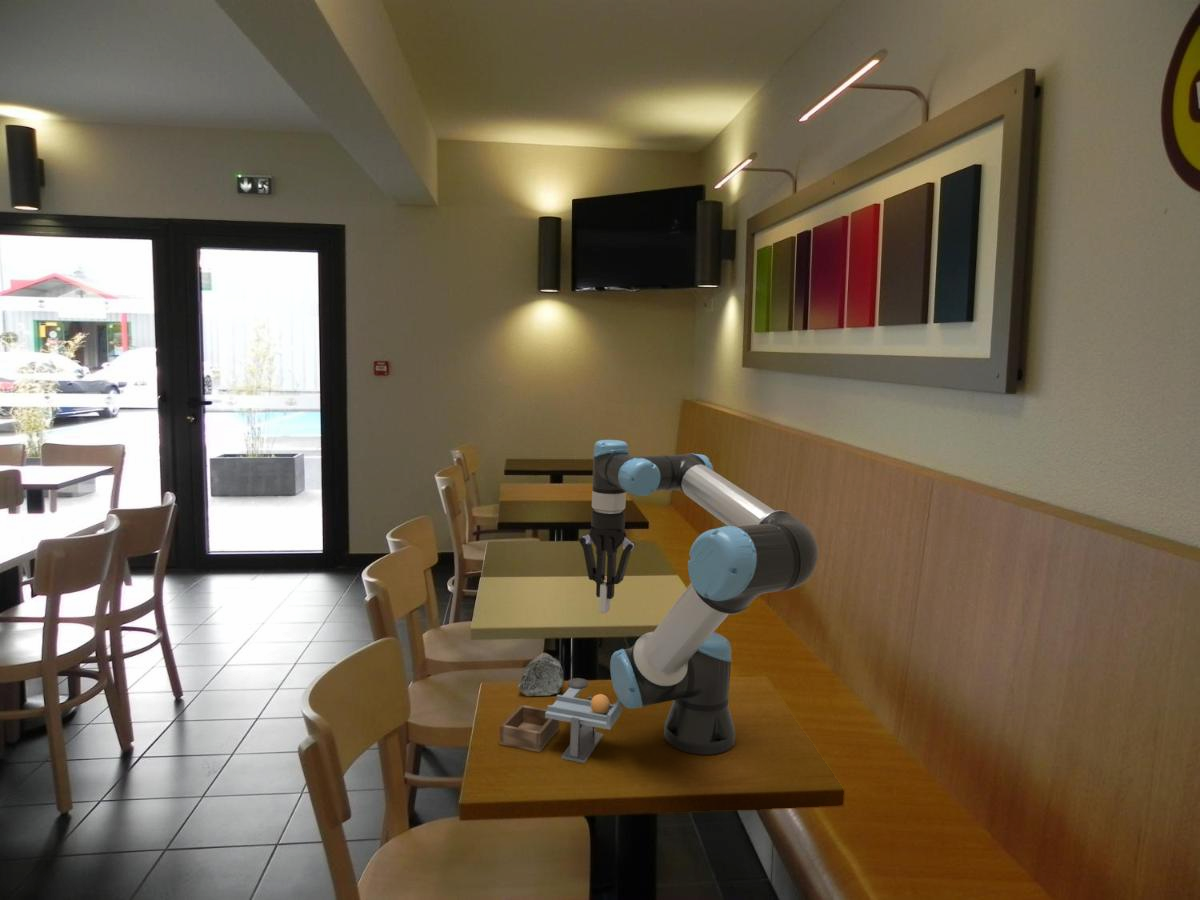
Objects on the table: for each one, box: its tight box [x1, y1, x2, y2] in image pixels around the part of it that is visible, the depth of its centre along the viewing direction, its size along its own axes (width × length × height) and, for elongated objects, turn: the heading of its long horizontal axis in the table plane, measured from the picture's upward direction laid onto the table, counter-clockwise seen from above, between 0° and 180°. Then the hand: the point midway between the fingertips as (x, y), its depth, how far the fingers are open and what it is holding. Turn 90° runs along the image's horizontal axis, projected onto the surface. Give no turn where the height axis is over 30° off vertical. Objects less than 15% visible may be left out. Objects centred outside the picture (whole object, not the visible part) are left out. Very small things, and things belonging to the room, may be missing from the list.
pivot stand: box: [560, 695, 604, 764], centre depth 163 cm, size 5×12×9 cm, turn 162°
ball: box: [591, 693, 611, 714], centre depth 161 cm, size 4×4×4 cm
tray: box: [499, 704, 560, 753], centre depth 167 cm, size 9×11×4 cm
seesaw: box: [545, 677, 623, 731], centre depth 167 cm, size 15×18×3 cm
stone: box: [517, 652, 565, 697], centre depth 189 cm, size 10×10×10 cm
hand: (604, 611), depth 177 cm, fingers closed
